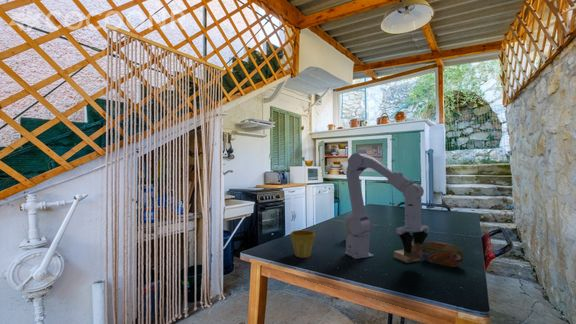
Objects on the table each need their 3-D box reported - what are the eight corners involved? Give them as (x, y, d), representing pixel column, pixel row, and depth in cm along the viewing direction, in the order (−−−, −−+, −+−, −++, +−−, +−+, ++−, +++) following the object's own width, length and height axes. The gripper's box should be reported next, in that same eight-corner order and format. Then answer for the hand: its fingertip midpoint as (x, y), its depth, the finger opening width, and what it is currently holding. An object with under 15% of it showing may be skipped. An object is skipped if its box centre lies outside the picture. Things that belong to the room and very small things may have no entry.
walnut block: (413, 259, 99) (413, 245, 99) (403, 255, 103) (404, 242, 103) (422, 257, 101) (422, 244, 101) (412, 253, 105) (412, 241, 105)
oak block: (407, 263, 108) (407, 256, 108) (393, 258, 114) (393, 251, 114) (419, 261, 111) (419, 254, 111) (406, 256, 117) (406, 249, 117)
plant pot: (297, 250, 123) (297, 228, 123) (318, 254, 118) (318, 231, 118) (286, 256, 114) (286, 233, 114) (308, 261, 109) (308, 236, 109)
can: (356, 243, 134) (356, 219, 134) (342, 240, 139) (342, 217, 139) (362, 240, 140) (362, 217, 140) (348, 237, 145) (349, 215, 145)
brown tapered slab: (420, 260, 111) (420, 239, 111) (422, 258, 114) (422, 238, 114) (462, 269, 101) (462, 247, 101) (464, 267, 104) (464, 245, 104)
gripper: (406, 218, 96) (406, 257, 96) (436, 216, 101) (435, 252, 101) (392, 215, 102) (391, 251, 102) (420, 213, 108) (420, 247, 108)
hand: (412, 251), depth 102 cm, fingers closed on walnut block, 4 cm apart
